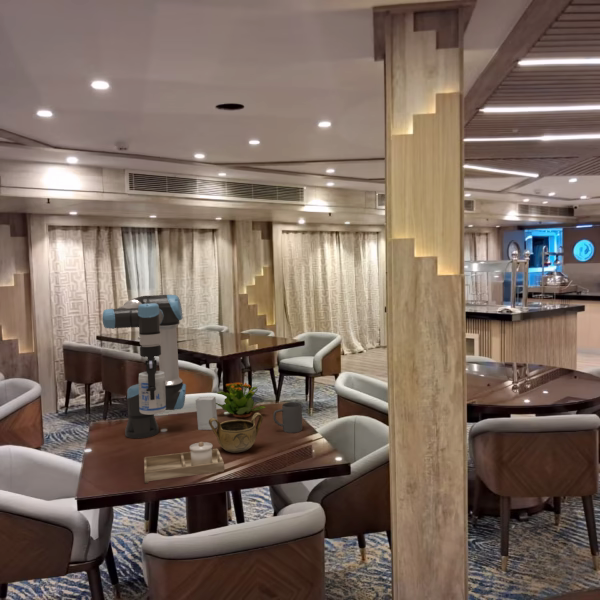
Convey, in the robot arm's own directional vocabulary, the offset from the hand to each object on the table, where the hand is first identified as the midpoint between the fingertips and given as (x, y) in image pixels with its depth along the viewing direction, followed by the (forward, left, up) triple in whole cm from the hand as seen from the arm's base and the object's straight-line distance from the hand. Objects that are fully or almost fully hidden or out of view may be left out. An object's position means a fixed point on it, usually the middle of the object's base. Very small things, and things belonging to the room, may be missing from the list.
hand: (153, 404), depth 205 cm
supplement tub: (0, 0, -3) cm, 3 cm away
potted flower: (-67, +45, -26) cm, 85 cm away
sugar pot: (+1, +17, -25) cm, 30 cm away
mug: (-33, +60, -26) cm, 73 cm away
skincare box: (-51, +25, -26) cm, 63 cm away
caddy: (+1, +10, -26) cm, 28 cm away
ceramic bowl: (-14, +33, -26) cm, 44 cm away
